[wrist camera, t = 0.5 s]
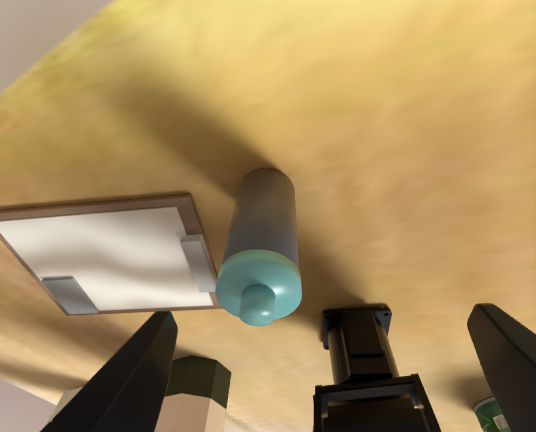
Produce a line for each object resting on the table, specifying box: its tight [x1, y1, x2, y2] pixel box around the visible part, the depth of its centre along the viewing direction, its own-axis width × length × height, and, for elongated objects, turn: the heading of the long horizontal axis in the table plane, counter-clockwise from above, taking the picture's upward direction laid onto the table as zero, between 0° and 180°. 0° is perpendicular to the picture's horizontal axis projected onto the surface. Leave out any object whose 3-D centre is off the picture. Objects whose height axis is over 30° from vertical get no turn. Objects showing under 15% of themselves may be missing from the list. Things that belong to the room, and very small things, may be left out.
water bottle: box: [215, 168, 302, 326], centre depth 17 cm, size 4×4×10 cm
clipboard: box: [0, 194, 224, 316], centre depth 26 cm, size 13×17×1 cm
